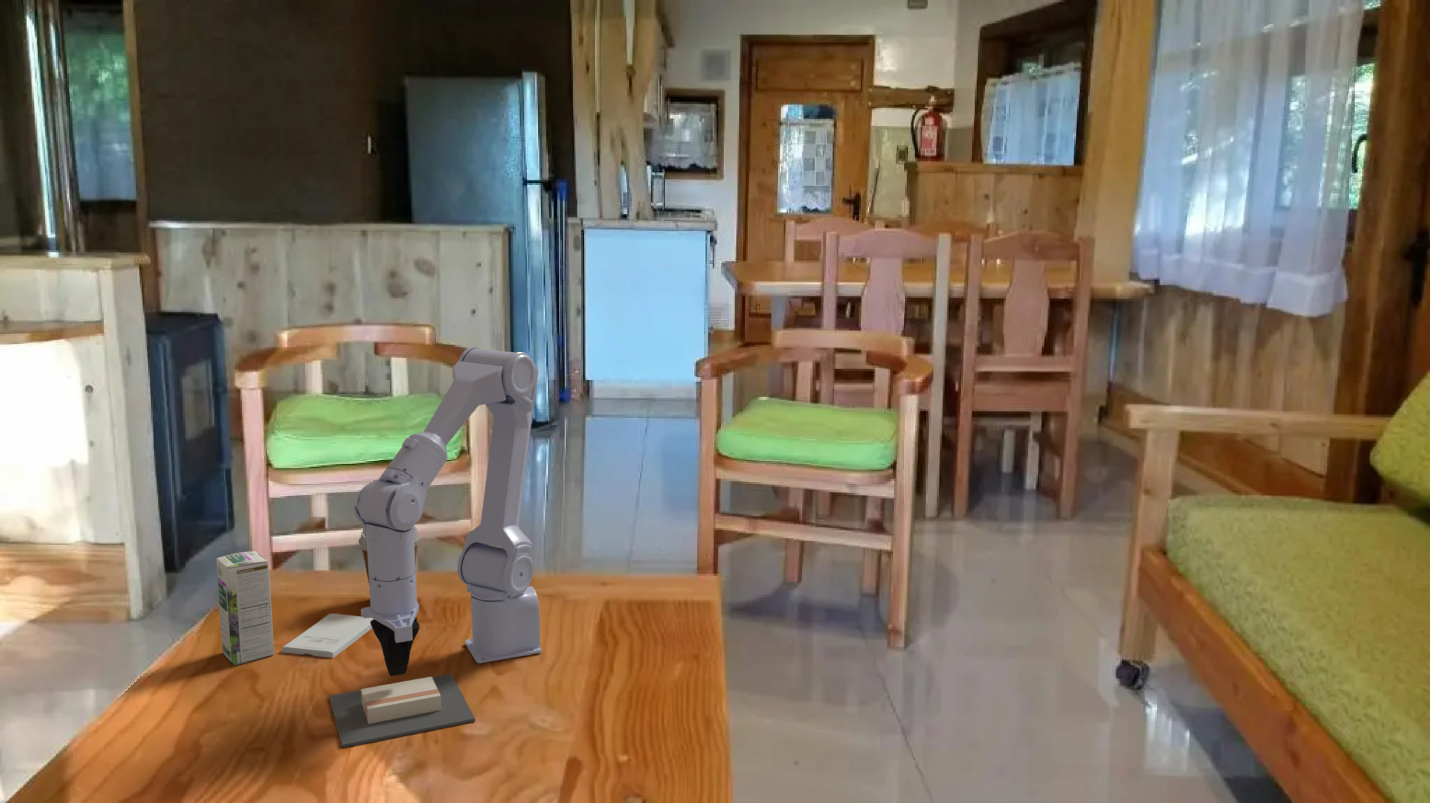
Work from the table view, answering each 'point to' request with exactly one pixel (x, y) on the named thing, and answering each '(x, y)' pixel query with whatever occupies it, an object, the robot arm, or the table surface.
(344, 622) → the external hard drive
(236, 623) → the syrup box
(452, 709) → the mat
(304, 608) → the table surface
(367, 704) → the card deck
